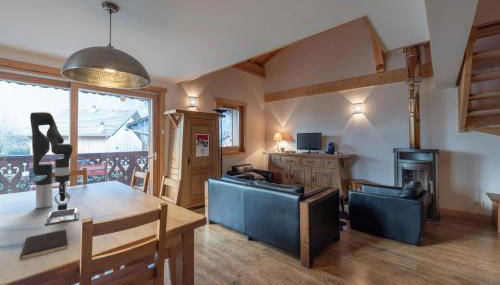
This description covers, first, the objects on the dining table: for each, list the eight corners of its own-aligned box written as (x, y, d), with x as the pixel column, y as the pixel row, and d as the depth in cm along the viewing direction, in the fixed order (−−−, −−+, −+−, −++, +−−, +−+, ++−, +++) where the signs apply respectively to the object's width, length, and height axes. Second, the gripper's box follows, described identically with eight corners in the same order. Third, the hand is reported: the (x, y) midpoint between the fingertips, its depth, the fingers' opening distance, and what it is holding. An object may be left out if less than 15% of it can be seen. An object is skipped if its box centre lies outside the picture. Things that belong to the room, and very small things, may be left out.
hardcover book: (66, 233, 125) (66, 229, 125) (67, 249, 108) (67, 244, 107) (25, 241, 114) (25, 237, 114) (20, 260, 97) (20, 255, 97)
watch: (70, 208, 146) (70, 192, 145) (54, 211, 141) (53, 193, 141) (71, 206, 150) (70, 190, 150) (55, 208, 146) (55, 192, 145)
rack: (49, 216, 149) (48, 210, 148) (79, 212, 158) (79, 206, 158) (44, 225, 134) (44, 219, 134) (78, 220, 143) (78, 213, 143)
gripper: (56, 173, 149) (56, 198, 149) (53, 176, 137) (53, 203, 138) (70, 172, 153) (70, 196, 154) (69, 175, 142) (69, 201, 142)
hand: (62, 199), depth 146 cm, fingers closed on watch, 4 cm apart
